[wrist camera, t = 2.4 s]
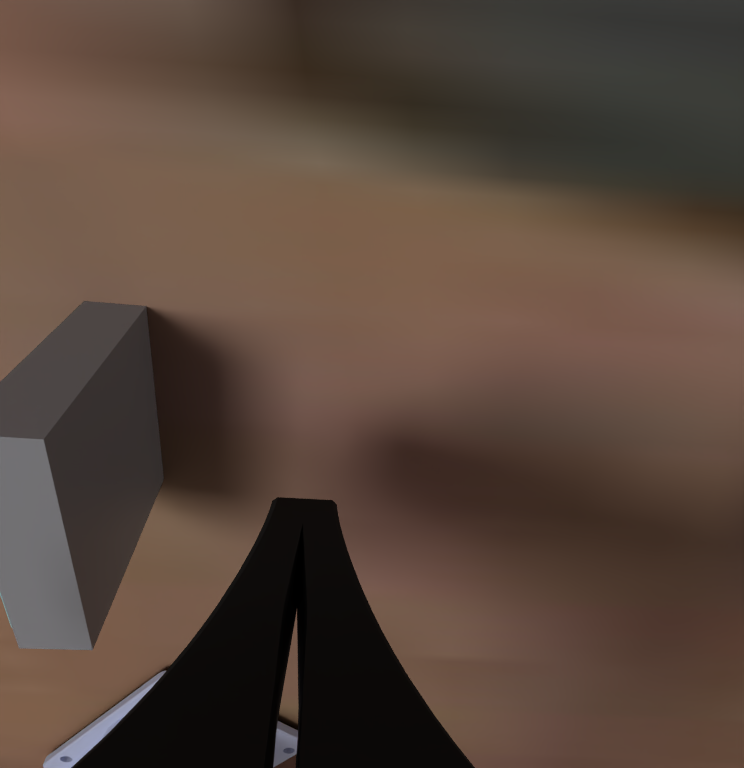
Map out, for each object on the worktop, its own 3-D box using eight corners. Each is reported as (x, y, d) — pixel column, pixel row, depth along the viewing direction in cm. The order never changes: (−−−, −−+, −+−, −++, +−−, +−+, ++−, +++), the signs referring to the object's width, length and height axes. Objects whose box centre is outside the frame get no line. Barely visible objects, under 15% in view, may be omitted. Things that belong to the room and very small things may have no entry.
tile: (146, 305, 15) (44, 439, 10) (164, 478, 18) (92, 650, 13) (74, 300, 15) (-69, 432, 10) (104, 475, 18) (7, 647, 13)
